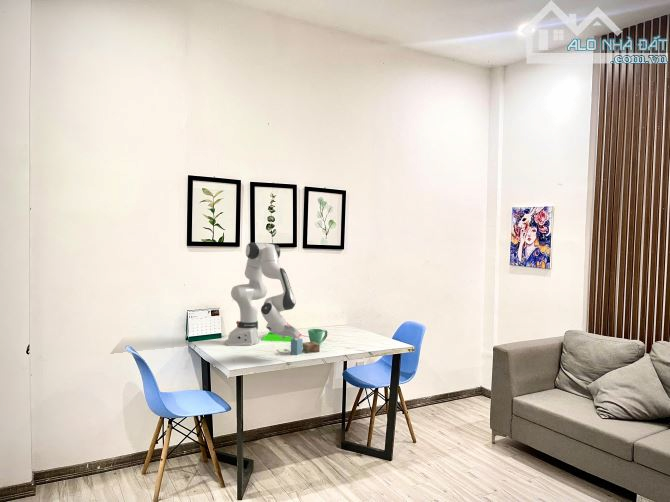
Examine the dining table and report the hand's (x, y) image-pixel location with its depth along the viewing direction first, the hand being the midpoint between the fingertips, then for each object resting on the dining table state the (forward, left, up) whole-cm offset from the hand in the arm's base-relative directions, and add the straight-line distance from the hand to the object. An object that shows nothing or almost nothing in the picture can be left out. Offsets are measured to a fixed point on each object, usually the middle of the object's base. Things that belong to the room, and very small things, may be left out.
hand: (289, 338), depth 284 cm
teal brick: (+5, +4, -10) cm, 12 cm away
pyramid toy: (+3, +49, -11) cm, 51 cm away
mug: (+23, +23, -11) cm, 34 cm away
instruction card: (0, +12, -10) cm, 16 cm away
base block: (+15, +8, -11) cm, 20 cm away
